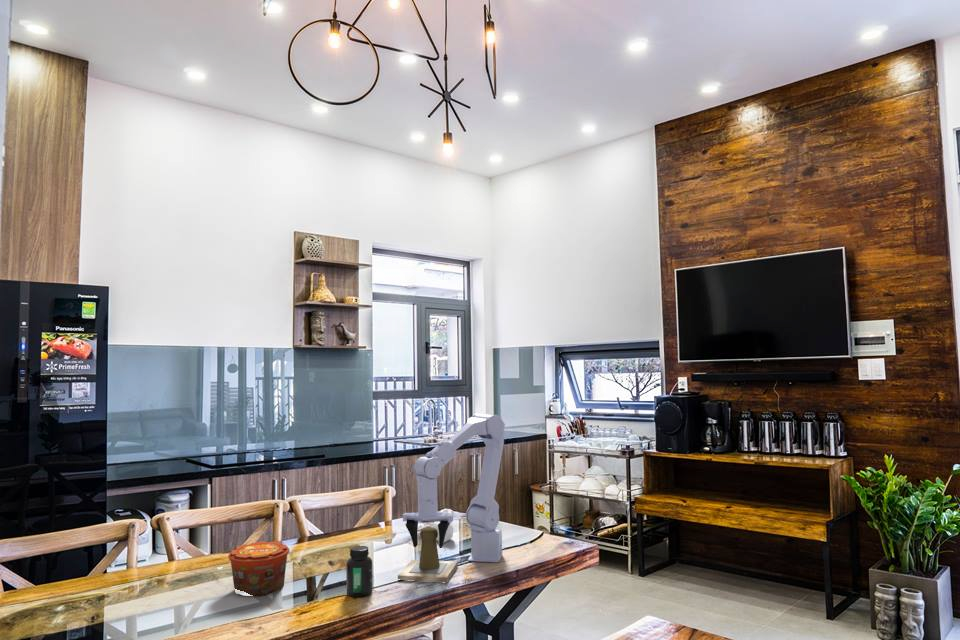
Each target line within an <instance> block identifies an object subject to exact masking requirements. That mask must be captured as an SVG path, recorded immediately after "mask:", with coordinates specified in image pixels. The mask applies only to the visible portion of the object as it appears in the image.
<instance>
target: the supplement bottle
mask: <svg viewBox="0 0 960 640" xmlns="http://www.w3.org/2000/svg"><path fill="white" fill-rule="evenodd" d="M369 554H370V553H369V547H368V546H367V545H355V546H352V547H350V549H349V558H348V559H347V561H346V565H345V573H346V575H345V577H346V578H345V579H346V582H345V583H346V585H345V586H346V595H347V596H348V598H352V599H362V598H367V597H369V596H370V595H372V593H373V586H374V585H373V582H374V581H373V577H374V575H373V560H372V558H371V557H370V556H369Z"/></svg>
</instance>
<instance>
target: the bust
mask: <svg viewBox="0 0 960 640" xmlns="http://www.w3.org/2000/svg"><path fill="white" fill-rule="evenodd" d="M439 513H444V514H453V516H454V515H455V512H454V510H452V509H451V508H444V509H441V510H440V511H439ZM439 523H440V522H433V524H432V527H433V528H436V529H437V531H438V537H437V539H436V542H438V543H439V529H438V524H439ZM454 531H455V530H454V526H453V524H452V523H450V524H449V526H448V529H447V531H446V534H445V538H444V543H445V544H446V542H448V541H449V540H451V539H453V537H454Z"/></svg>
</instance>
